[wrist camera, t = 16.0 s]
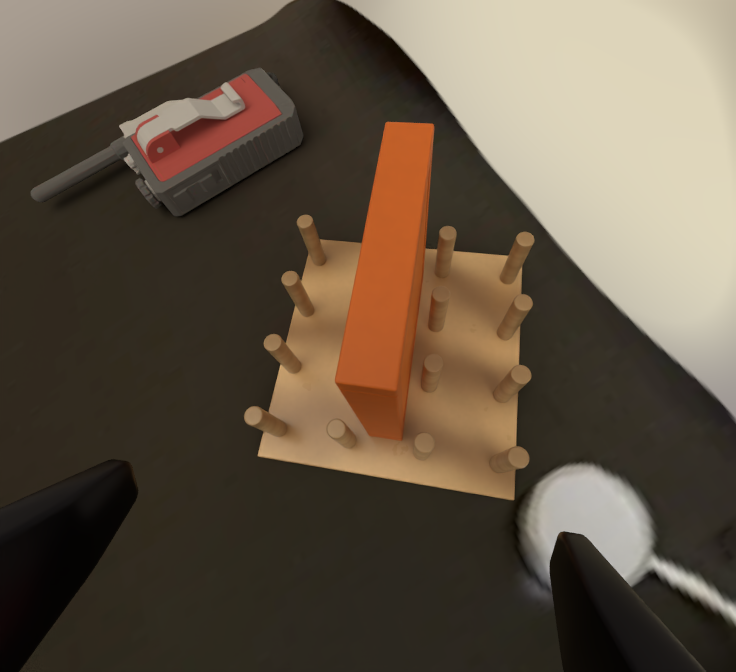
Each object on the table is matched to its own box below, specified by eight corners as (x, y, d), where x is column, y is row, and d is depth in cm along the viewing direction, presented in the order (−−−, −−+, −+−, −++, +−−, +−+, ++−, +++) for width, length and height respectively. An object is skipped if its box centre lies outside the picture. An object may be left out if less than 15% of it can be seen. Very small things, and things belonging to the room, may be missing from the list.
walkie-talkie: (266, 77, 34) (44, 201, 31) (246, 19, 30) (-12, 156, 27) (322, 137, 31) (82, 280, 28) (309, 81, 26) (25, 243, 24)
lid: (402, 441, 21) (397, 391, 11) (368, 435, 21) (333, 382, 11) (423, 276, 25) (434, 122, 15) (394, 273, 25) (385, 120, 15)
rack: (511, 500, 20) (539, 501, 16) (260, 457, 22) (225, 448, 18) (520, 262, 25) (543, 214, 21) (313, 243, 27) (296, 196, 23)
